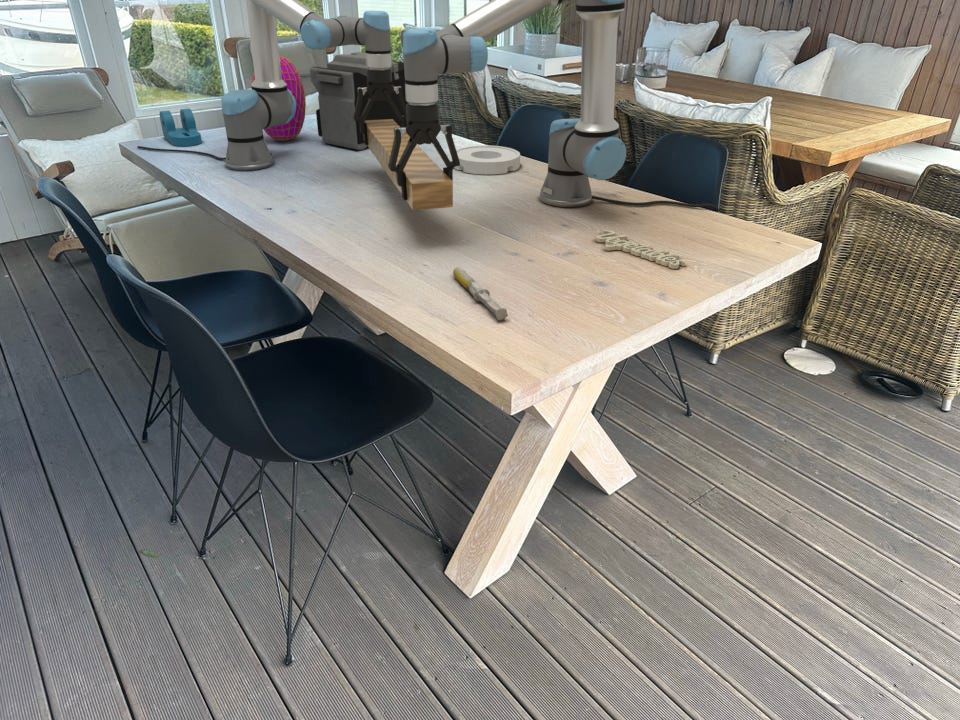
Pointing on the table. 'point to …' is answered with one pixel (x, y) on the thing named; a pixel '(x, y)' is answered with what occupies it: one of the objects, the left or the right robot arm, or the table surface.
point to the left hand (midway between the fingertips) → (382, 143)
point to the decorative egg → (297, 89)
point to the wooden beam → (411, 168)
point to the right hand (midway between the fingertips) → (425, 196)
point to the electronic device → (350, 99)
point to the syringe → (479, 293)
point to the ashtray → (488, 159)
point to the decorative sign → (639, 249)
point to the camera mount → (180, 135)
